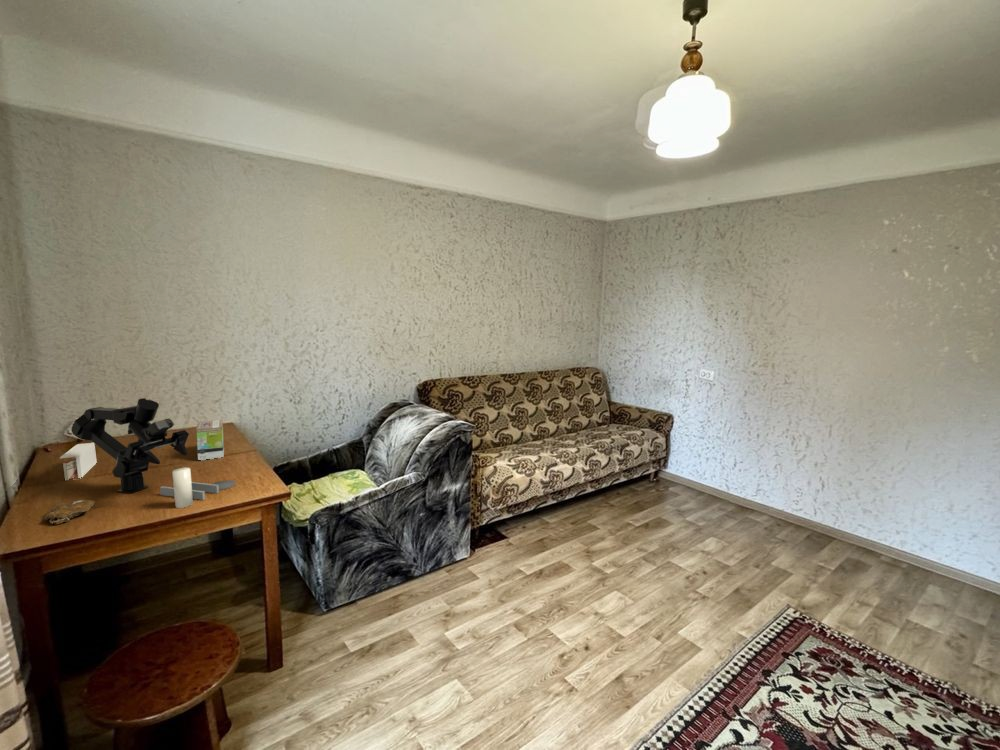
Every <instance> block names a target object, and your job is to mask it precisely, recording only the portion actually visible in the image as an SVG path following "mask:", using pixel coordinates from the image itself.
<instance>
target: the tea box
mask: <svg viewBox="0 0 1000 750" xmlns="http://www.w3.org/2000/svg"><path fill="white" fill-rule="evenodd" d="M195 432H196V447H197V448H196V449H197V450H196V451H197V461H198V460H201V461H207V460H206V459H210V460H215V459H214V458H218V459H222V458H221V457H223V458H224V455H225V442H224V441H225V440H224V425H223V420H222V419H220V420H219V419H218V420H207V421H206V420H205V421H198V422H197V424H196V431H195Z"/></svg>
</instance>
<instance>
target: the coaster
mask: <svg viewBox="0 0 1000 750" xmlns="http://www.w3.org/2000/svg"><path fill="white" fill-rule="evenodd" d="M211 484H215V485H218V486H219V491H224V490H223V489H225V490H228V489H231V488H233V487H235V486H236V485H235V484H237V482H236V481H235V480H229V479H228V480H220V481H216V482H213V483H211ZM234 485H235V486H234ZM232 486H233V487H232ZM230 487H231V488H230ZM227 488H228V489H227Z"/></svg>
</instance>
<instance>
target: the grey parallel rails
mask: <svg viewBox="0 0 1000 750" xmlns="http://www.w3.org/2000/svg"><path fill="white" fill-rule="evenodd" d="M191 482H192V494H193V500H196V499H199V501H205V500H206V494H205V493H210V494H219V493H220V490H219V486H218V485H215V484H212V483H206V482H194V481H191ZM159 491H160V492H159V493H160V496H166V497H174V487H171V486H170V487H169V486H163V485H162V486H160V487H159ZM174 498H175V497H174Z"/></svg>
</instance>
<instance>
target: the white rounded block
mask: <svg viewBox="0 0 1000 750" xmlns="http://www.w3.org/2000/svg"><path fill="white" fill-rule="evenodd" d="M191 471H192V470H191V467H179V468H175V469H173V470H172V473H171V474H172V483H173V484H172V485H173V488H174V506H175V507H174V508H176V509H184V507H185V508H188V506H189V507H191V506H192V504H194V499H193V494H192V482H193V481H192V472H191ZM190 505H191V506H190Z"/></svg>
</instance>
